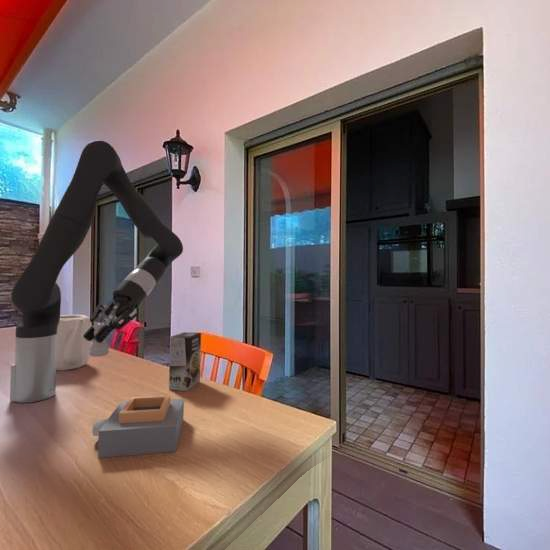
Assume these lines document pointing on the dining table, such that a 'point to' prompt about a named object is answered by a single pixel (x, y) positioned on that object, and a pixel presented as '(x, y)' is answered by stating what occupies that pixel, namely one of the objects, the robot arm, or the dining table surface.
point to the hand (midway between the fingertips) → (91, 339)
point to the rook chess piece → (98, 348)
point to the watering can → (72, 342)
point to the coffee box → (184, 361)
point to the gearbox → (141, 427)
